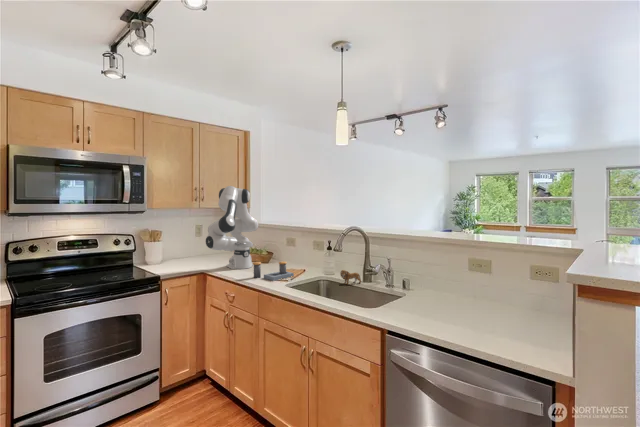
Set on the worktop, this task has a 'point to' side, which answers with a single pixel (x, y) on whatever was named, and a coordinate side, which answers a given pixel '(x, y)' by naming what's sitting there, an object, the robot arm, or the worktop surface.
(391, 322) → the worktop surface
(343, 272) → the lion figurine
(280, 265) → the seated jaw
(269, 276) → the housing
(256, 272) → the jaw peg
